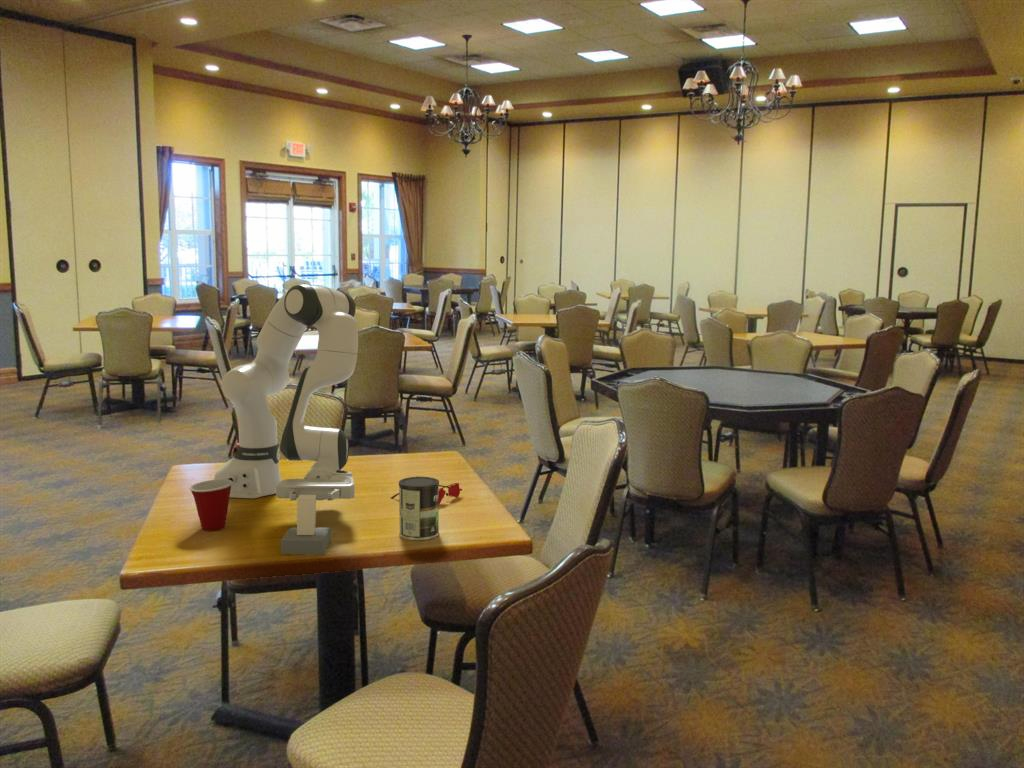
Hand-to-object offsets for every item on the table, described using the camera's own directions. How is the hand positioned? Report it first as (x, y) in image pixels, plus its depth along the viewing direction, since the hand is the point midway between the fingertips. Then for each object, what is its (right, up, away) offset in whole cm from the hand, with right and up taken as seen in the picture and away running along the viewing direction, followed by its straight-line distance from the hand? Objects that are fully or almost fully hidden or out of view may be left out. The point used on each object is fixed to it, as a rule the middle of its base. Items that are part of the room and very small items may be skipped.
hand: (311, 497), depth 219 cm
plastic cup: (-27, -9, +6) cm, 29 cm away
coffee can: (+27, -10, +3) cm, 29 cm away
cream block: (+1, -8, -9) cm, 11 cm away
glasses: (+26, -5, +37) cm, 46 cm away
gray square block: (+1, -12, -8) cm, 14 cm away
